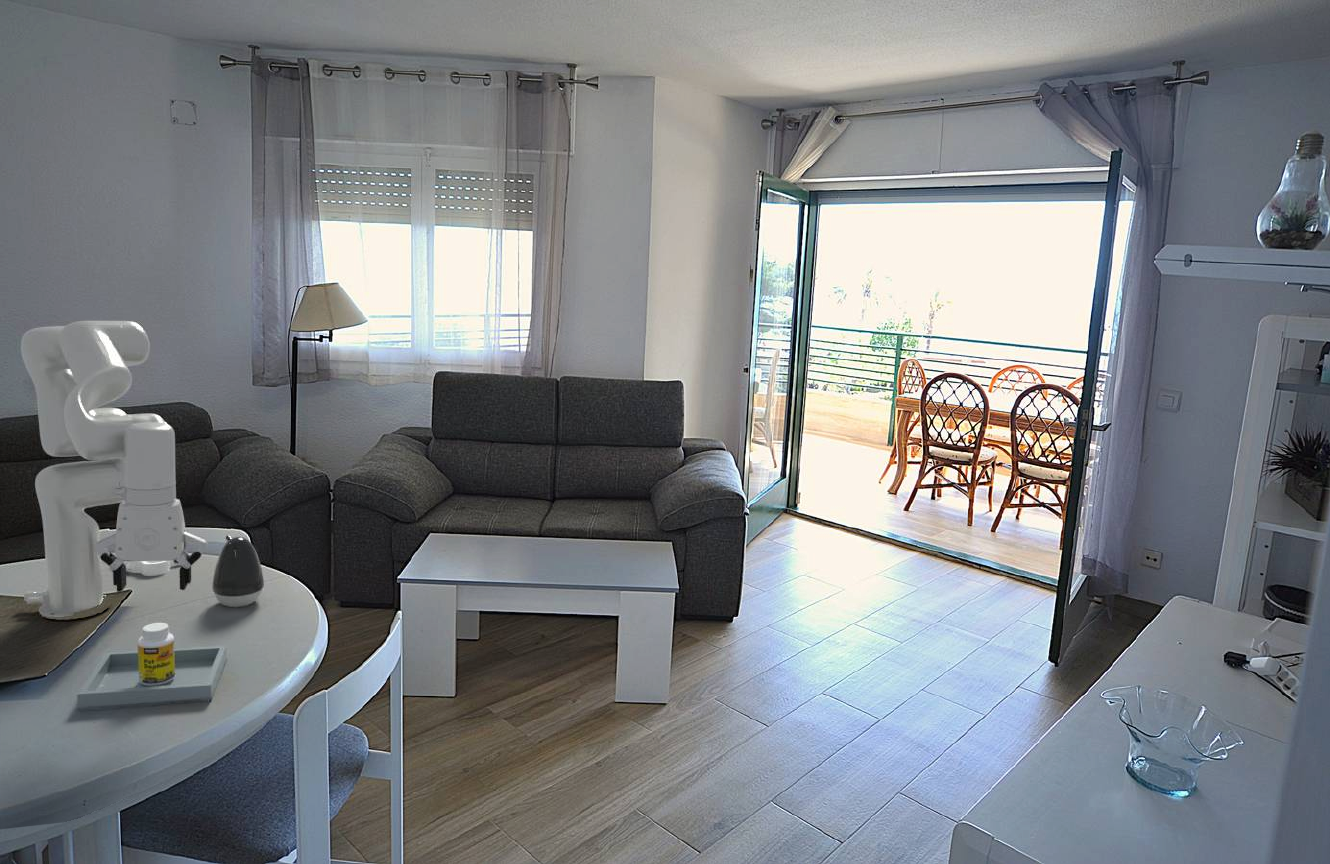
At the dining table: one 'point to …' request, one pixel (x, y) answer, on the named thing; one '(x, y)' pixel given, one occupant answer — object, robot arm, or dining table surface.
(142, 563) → the white multi-hole holder
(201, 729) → the dining table surface
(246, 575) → the black egg-shaped figure
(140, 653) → the supplement bottle
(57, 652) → the dining table surface
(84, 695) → the tray
